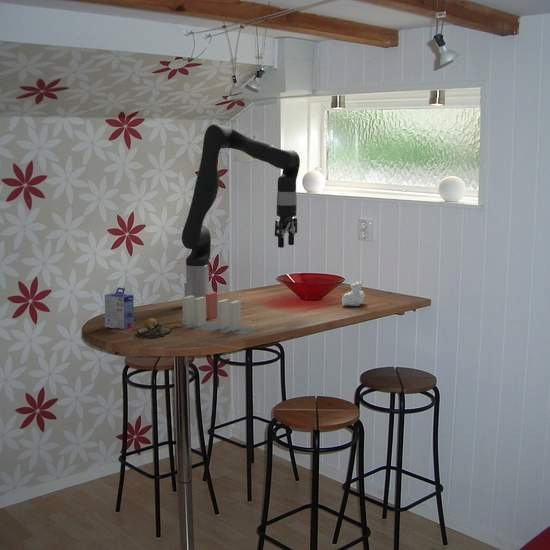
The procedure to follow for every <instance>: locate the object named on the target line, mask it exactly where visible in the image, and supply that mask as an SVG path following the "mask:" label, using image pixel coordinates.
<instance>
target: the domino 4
mask: <svg viewBox="0 0 550 550" xmlns="http://www.w3.org/2000/svg"><path fill="white" fill-rule="evenodd" d="M241 326H242V300H234V301H231V302H230V301H229V331H235V330H238V329H240V328H241Z"/></svg>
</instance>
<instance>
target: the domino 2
mask: <svg viewBox="0 0 550 550" xmlns="http://www.w3.org/2000/svg"><path fill="white" fill-rule="evenodd" d="M206 322H207V318H206V297H199V298H196V299H194V326H197V327H199V326H202V325H204V324H206Z"/></svg>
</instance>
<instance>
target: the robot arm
mask: <svg viewBox="0 0 550 550" xmlns="http://www.w3.org/2000/svg"><path fill="white" fill-rule="evenodd" d="M221 149H231V150H237V151H240V152H242V153H245V154H246V155H248V156H249V157H251V158H252V159H256V160H259V161H261V162H264V163H268V164H269V165H271V166H273V167H275V168H277V169H281V170H282V174H281V175H280V176H279V177H278V178H277V194H276V216H277V217H279V219H278V220H277V219H276V220H275V221H274V237H277V247H278V248H279V249H280V248H281V249H283V248H284V247H285V234H286V233H287V234H288V236H287V244H288V246H293V245H295V235H296V234H298V218H297V217H296V216H297V206H298V205H297V204H298V203H297V201H298V199H297V178H298V175H299V171H300V170H299V169H300V166H301V157H300V155H299V154H298V152H297V151H296V150H291V149H281V148H278V147H276V146H275V145H273V144H272V143H269V142H265V141H263V140H259V139H256V138H252V137H250V136H247V135H246V134H243V133H241V132H239V131H238V130H236V129H234V128H232V127H231V126H228V125H227V124H215V123H214V124H210V125H209V126H208V127H207V129H206V130H205V132H204V136H203V145H202V152H201V158H200V164H199V168H198V171H197V173H198V174H197V178H196V181H195V186H194V189H193V194H192V199H191V203H190V207H189V211H188V214H187V218H186V220H185V223H184V226H183V229H182V233H181V241H182V242H181V243H182V245H183V247H185V248H186V249H188V250H191V252H190V254H188V256H187V257H186V258H185V272H186V273H185V274H186V276H185V277H186V278H185V279H186V280H185V283H184V286H183V287H184V297H187V296H190V295H191V296H194V297H195V299H196V298H199V297H206V294H207V293H210V284H209V283H210V278H209V277H210V275H209V274H210V273H209V270H210V269H209V261H210V258H211V248H212V247H211V245H212V236H211V233H210V230H209V228H208V227H206V226H205V225H203V223H204V220H205V217H206V215H207V214H208V212H209V210H210V209H211V208H212V206H213V205H214V202H215V201H216V198H217V196H218V193H219V192H218V191H219V187H220V176H219V175H220V173H219V170H218V159H219V155H220V152H221Z"/></svg>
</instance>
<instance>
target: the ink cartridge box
mask: <svg viewBox="0 0 550 550" xmlns="http://www.w3.org/2000/svg"><path fill="white" fill-rule="evenodd" d="M125 290H126V287H117V288H116V291H115V292H112V293H107V294H104V327H105V328H108V327H109V328H110V329H122V330H126V329H129V328H133V327H135V310H134V309H135V308H134V304H135V301H134V295H133V294H127V293H126V294H125Z"/></svg>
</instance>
